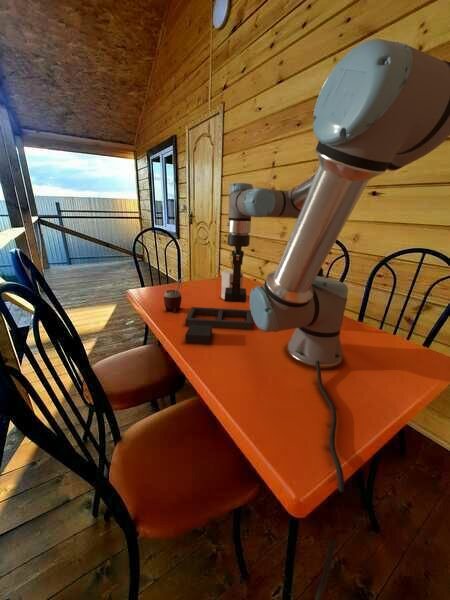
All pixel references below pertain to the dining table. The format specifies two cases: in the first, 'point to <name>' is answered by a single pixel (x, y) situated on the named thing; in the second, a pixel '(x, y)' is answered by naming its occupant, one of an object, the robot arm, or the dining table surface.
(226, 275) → the small box
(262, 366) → the dining table surface
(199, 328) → the pad
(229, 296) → the pad
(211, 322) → the frame
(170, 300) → the mate gourd
